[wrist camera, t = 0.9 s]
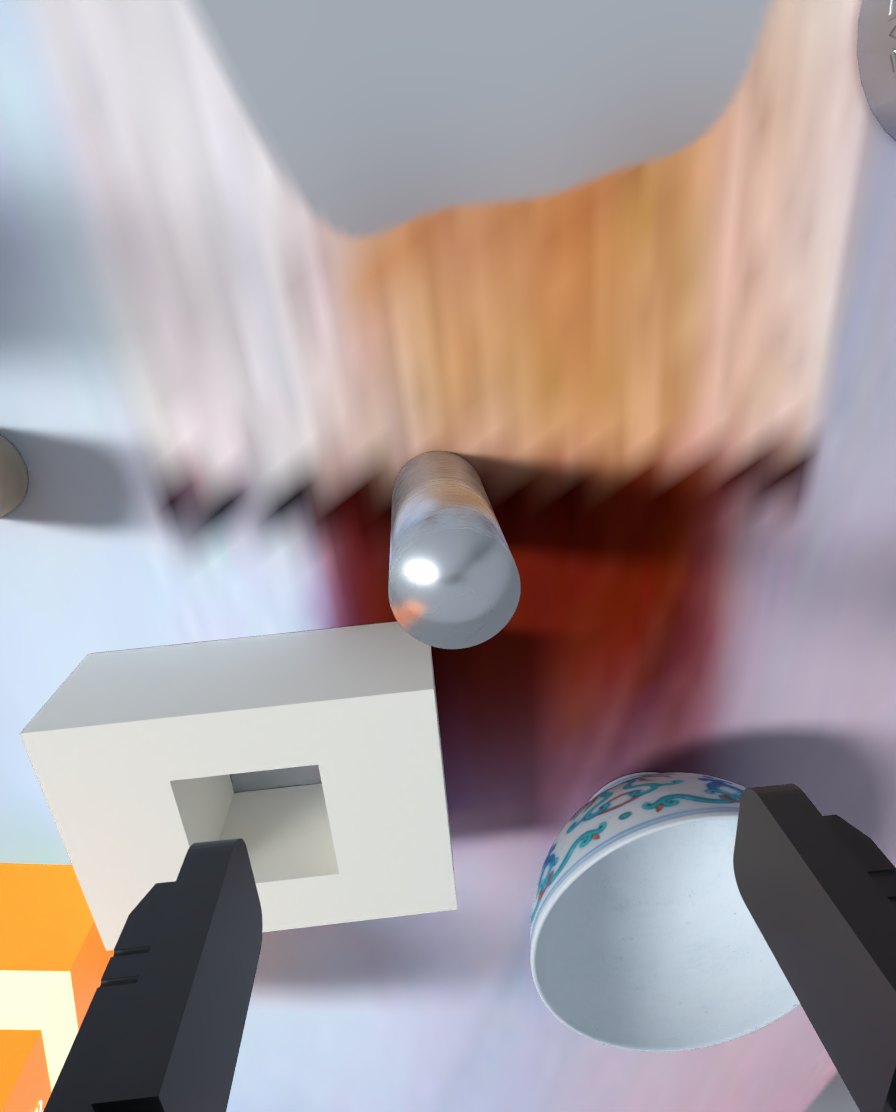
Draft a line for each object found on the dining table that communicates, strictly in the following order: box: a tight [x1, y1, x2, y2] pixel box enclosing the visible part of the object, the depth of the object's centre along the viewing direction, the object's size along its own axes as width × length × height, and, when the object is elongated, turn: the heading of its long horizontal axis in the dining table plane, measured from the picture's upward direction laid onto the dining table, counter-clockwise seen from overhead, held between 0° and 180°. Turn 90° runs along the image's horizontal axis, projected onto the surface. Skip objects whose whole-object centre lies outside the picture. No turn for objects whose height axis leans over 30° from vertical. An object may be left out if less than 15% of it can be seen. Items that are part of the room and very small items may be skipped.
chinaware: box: [530, 772, 800, 1052], centre depth 34 cm, size 15×15×8 cm
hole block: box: [20, 622, 457, 951], centre depth 31 cm, size 16×12×6 cm
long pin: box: [388, 451, 521, 649], centre depth 25 cm, size 4×4×10 cm
